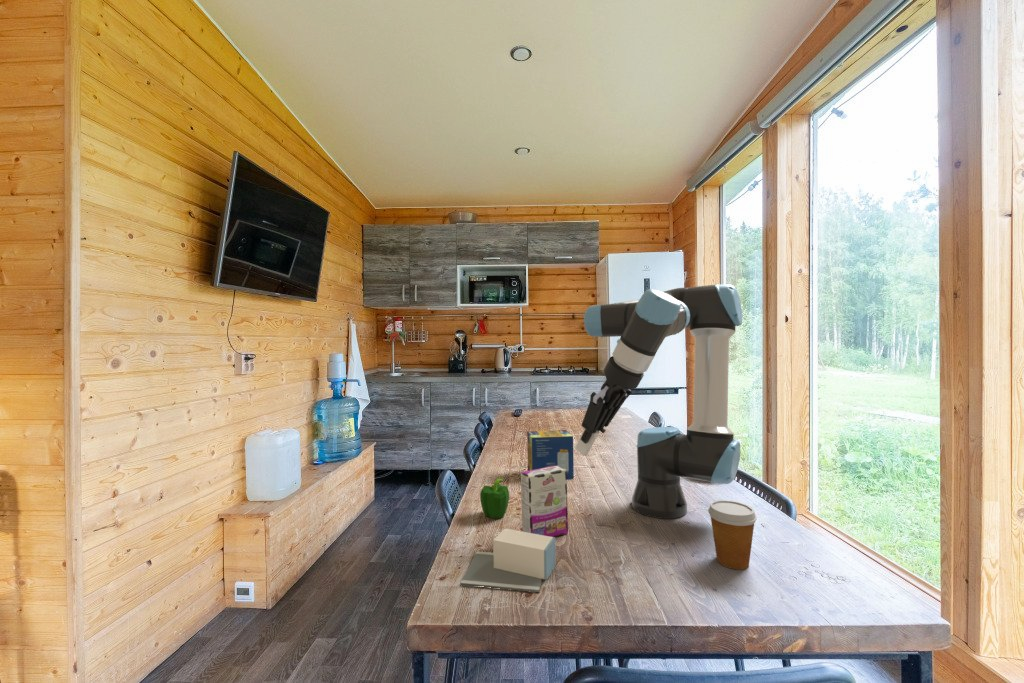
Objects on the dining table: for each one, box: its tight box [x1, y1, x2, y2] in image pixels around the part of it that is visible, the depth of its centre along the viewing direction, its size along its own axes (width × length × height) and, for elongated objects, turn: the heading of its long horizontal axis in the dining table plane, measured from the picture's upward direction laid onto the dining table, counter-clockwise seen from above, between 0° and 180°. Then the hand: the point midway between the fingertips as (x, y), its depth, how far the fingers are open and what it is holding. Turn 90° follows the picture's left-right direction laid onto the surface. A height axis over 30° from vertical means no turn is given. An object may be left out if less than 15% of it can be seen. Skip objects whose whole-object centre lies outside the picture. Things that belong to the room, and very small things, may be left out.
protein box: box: [526, 429, 575, 480], centre depth 156 cm, size 10×15×16 cm
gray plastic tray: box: [459, 551, 543, 593], centre depth 91 cm, size 16×13×1 cm
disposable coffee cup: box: [707, 499, 758, 570], centre depth 94 cm, size 10×10×12 cm
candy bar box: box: [520, 466, 569, 538], centre depth 108 cm, size 11×5×16 cm, turn 118°
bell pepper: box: [479, 478, 510, 520], centre depth 121 cm, size 8×8×10 cm
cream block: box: [492, 528, 557, 581], centre depth 92 cm, size 6×6×12 cm
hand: (581, 451), depth 96 cm, fingers closed
